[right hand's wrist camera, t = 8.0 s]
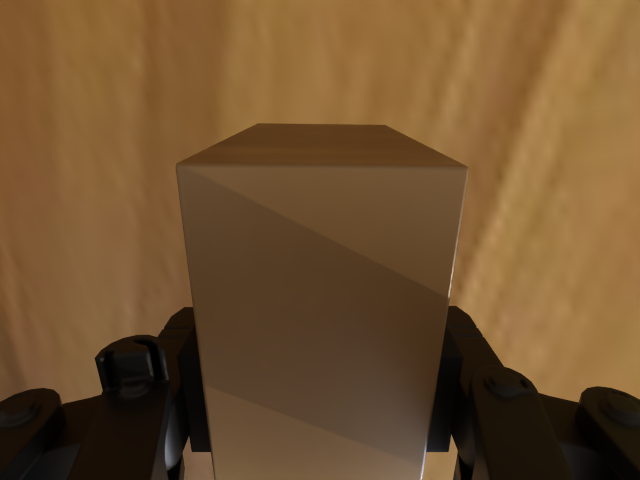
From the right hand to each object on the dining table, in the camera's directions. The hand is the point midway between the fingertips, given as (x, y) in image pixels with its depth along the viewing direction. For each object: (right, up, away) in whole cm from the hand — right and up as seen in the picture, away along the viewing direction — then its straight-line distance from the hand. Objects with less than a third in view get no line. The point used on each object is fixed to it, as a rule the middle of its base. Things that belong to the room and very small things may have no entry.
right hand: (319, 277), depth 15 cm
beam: (0, -32, +13) cm, 34 cm away
